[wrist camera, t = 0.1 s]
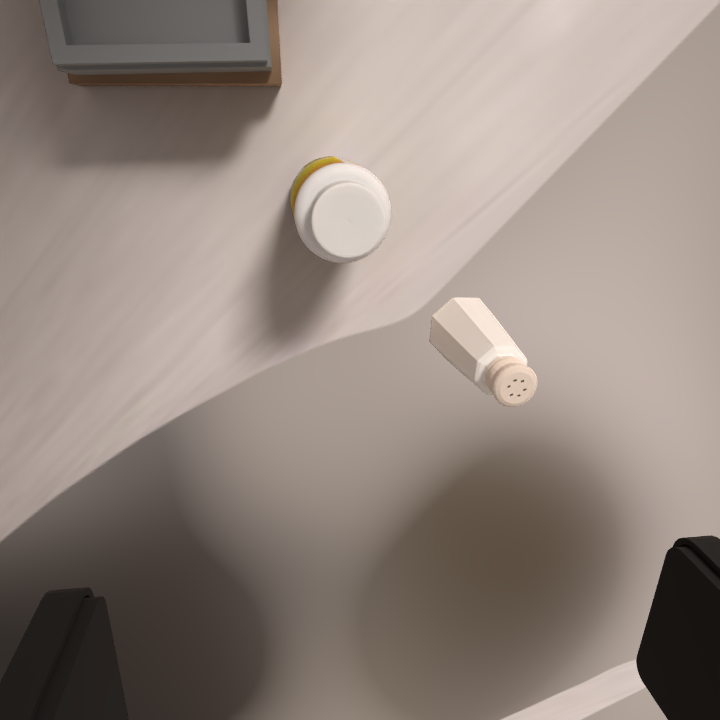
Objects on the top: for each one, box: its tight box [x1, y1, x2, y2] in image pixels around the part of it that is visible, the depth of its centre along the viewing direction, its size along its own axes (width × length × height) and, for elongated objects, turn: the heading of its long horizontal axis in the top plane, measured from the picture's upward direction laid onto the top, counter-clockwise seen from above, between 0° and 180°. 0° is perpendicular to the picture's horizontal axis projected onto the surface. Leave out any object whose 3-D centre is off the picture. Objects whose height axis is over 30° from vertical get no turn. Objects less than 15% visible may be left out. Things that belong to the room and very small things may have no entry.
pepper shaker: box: [430, 298, 537, 407], centre depth 39 cm, size 5×5×11 cm
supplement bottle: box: [290, 157, 391, 263], centre depth 34 cm, size 6×6×10 cm
